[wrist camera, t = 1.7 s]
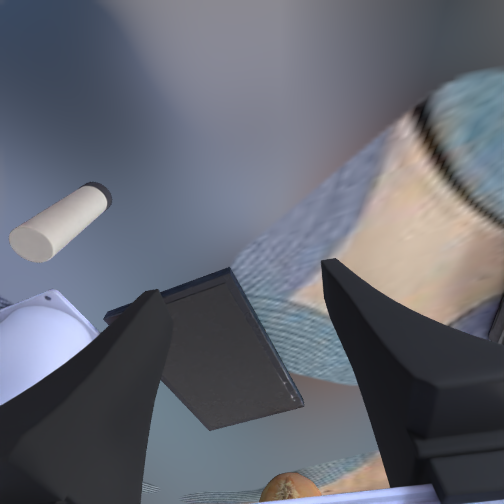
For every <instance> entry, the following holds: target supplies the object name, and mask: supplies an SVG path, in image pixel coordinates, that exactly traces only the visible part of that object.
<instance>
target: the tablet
mask: <svg viewBox="0 0 504 504" xmlns="http://www.w3.org/2000/svg"><path fill="white" fill-rule="evenodd" d="M160 294H161V296H162V298H163V300H164V302H165V305H166V307H167V309H168V311H169V313H170V315H171V317H172V320H173V322H174V324H173V332H172V339H171V344H170V348H169V352H168V355H167V359H166V362H165V366H164V369H163V373H162V376H161V381H162V382H163V383H164V384H165V385H166V386H167V387H168V388H169V389H170V390H171V391H172V392H173V393H174V394H175V395H176V396H177V397H178V398H179V399H180V400H181V401H182V403H183V404H184V405H185V406H186V407H187V408H188V409H189V410H190V411H191V412H192V413H193V414H194V415H195V416H196V417H197V418H198V419H199V420H200V422H201V423H202V424H203V425H204V426H205V427H206V428H207V429H208V430H209V431H211V430H215V429H219V428H223V427H227V426H231V425H235V424H239V423H243V422H246V421H250V420H254V419H258V418H262V417H266V416H269V415H273V414H277V413H282V412H286V411H290V410H293V409H297V408H301V407H304V401H303V398H302V396H301V394H300V392H299V391H298V389H297V387H296V385H295V383H294V382H293V380H292V378H291V376H290V374H289V373H288V371H287V369H286V367H285V365H284V364H283V362H282V360H281V358H280V356H279V355H278V353H277V351H276V349H275V347H274V346H273V344H272V342H271V340H270V338H269V337H268V335H267V333H266V331H265V329H264V328H263V326H262V324H261V322H260V320H259V319H258V317H257V315H256V313H255V311H254V310H253V308H252V306H251V304H250V302H249V301H248V299H247V297H246V295H245V293H244V292H243V290H242V288H241V286H240V284H239V283H238V281H237V279H236V277H235V275H234V274H233V272H232V270H231V268H230V267H228V268H225V269H223V270H220V271H218V272H215V273H212V274H209V275H206V276H204V277H201V278H198V279H196V280H193V281H190V282H188V283H185V284H182V285H179V286H176V287H174V288H171V289H169V290H165V291H163V292H160ZM131 304H132V303H130V304H127V305H125V306H122V307H119V308H116V309H114V310H111V311H108V312H107V314H106V315H105V317H104V321H105V322H106V323H107V324H108V325H110V324H111V323H112V322H113V321H114V320H115V319H116V318H117V317H119V316H120V315H121V314H122V313H123V312H124V311H125V310H126V309H127V308H128V307H129V306H130V305H131Z"/></svg>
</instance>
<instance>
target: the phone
mask: <svg viewBox="0 0 504 504" xmlns="http://www.w3.org/2000/svg"><path fill="white" fill-rule="evenodd" d="M489 339H490V340H491V341H492V342H495V343H498V344H502V345H504V297H503V299H502V302H501V305H500V307H499V310H498V313H497V315H496V318H495V320H494V323H493V326H492V328H491V331H490V334H489Z"/></svg>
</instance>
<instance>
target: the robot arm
mask: <svg viewBox="0 0 504 504" xmlns="http://www.w3.org/2000/svg"><path fill="white" fill-rule="evenodd" d="M321 267H322V280H323V292H324V299H325V303H326V306H327V309H328V313H329V316H330V319H331V321H332V323H333V326H334V328H335V330H336V332H337V335H338V337H339V339H340V341H341V343H342V346H343V348H344V350H345V352H346V355H347V357H348V359H349V361H350V363H351V366H352V368H353V371H354V374H355V376H356V379H357V382H358V385H359V388H360V391H361V394H362V397H363V400H364V403H365V407H366V410H367V412H368V416H369V419H370V422H371V425H372V428H373V432H374V435H375V438H376V441H377V445H378V448H379V451H380V454H381V458H382V461H383V465H384V468H385V471H386V475H387V478H388V481H389V485H390V488H387V489H378V490H369V491H360V492H351V493H342V494H332V495H323V496H314V497H305V498H296V499H287V500H278V501H268V502H259V503H250V504H504V345H502V344H498V343H495V342H492V341H489V340H485V339H482V338H479V337H476V336H473V335H470V334H468V333H465V332H462V331H459V330H457V329H454V328H451V327H449V326H446V325H444V324H441V323H439V322H437V321H435V320H432V319H430V318H428V317H426V316H423V315H421V314H419V313H417V312H415V311H413V310H411V309H409V308H407V307H405V306H403V305H402V304H400V303H398V302H396V301H394V300H392V299H391V298H389V297H387V296H386V295H384V294H383V293H381V292H380V291H378V290H377V289H375V288H374V287H372V286H371V285H369V284H368V283H367V282H365V281H364V280H363V279H361V278H360V277H359V276H357V275H356V274H355V273H353V272H352V271H351V270H350V269H348V268H347V267H346V266H345V265H344V264H342V263H341V262H340V261H339V260H337V259H336V258H333V259H327V260H322V261H321ZM48 296H49V297H48ZM173 324H174V322H173V320H172V317H171V315H170V313H169V311H168V309H167V307H166V305H165V302H164V300H163V298H162V296H161V294H160V292H159V290H158V289H156V290H149V291H145V292H144V293H143V294H141V295H140V296H139V297H138V298H137V299H136V300H135V301H134V302H133V303H132V304H131V305H130V306H129V307H128V308H127V309H126V310H125V311H124V312H123V313H122V314H121V315H120V316H119V317H117V318H116V319H115V320H114V321H113V322H112V323H111V324H110V325H109V326H108V327H107V328H106V329H105V330H104V331H103V332H101V333H100V332H99V331H98V330H97V329H96V328H95V327H94V326H93V325H92V324H91V323H90V322H89V321H88V320H87V319H86V318H85V317H84V316H83V315H82V314H81V313H80V312H79V311H78V310H77V309H76V308H75V307H74V306H73V305H72V304H71V303H70V302H69V301H68V300H67V299H66V298H65V297H64V296H63V295H62V294H61V293H60V292H59V291H58V290H55V289H50V290H48V291H45V292H43V293H40V294H38V295H36V296H33V297H31V298H28V299H26V300H23V301H21V302H18V303H16V304H13V305H11V306H8V307H6V308H3V309H1V310H0V504H140V502H141V492H142V481H143V473H144V465H145V457H146V449H147V443H148V436H149V430H150V424H151V418H152V412H153V407H154V401H155V397H156V394H157V389H158V386H159V383H160V380H161V376H162V373H163V369H164V366H165V362H166V359H167V355H168V352H169V348H170V344H171V339H172V332H173Z"/></svg>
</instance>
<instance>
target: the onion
mask: <svg viewBox="0 0 504 504" xmlns="http://www.w3.org/2000/svg"><path fill="white" fill-rule="evenodd" d="M314 496H322V494H321V492H320V491H319V489H318V488H317V487H316V485H315V484H314V483H313V482H312V481H311V480H309V479H308V478H306V477H304V476H302V475H300V474H298V473H292V472H288V473H283V474H279V475H277V476H276V477H274V478H273V479H272V480H271V481H270V482H269V483H268V484H267V486H266V487H265V489H264V490H263V492H262V494H261V497H260V500H259V502H268V501H278V500H287V499H296V498H305V497H314Z"/></svg>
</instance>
